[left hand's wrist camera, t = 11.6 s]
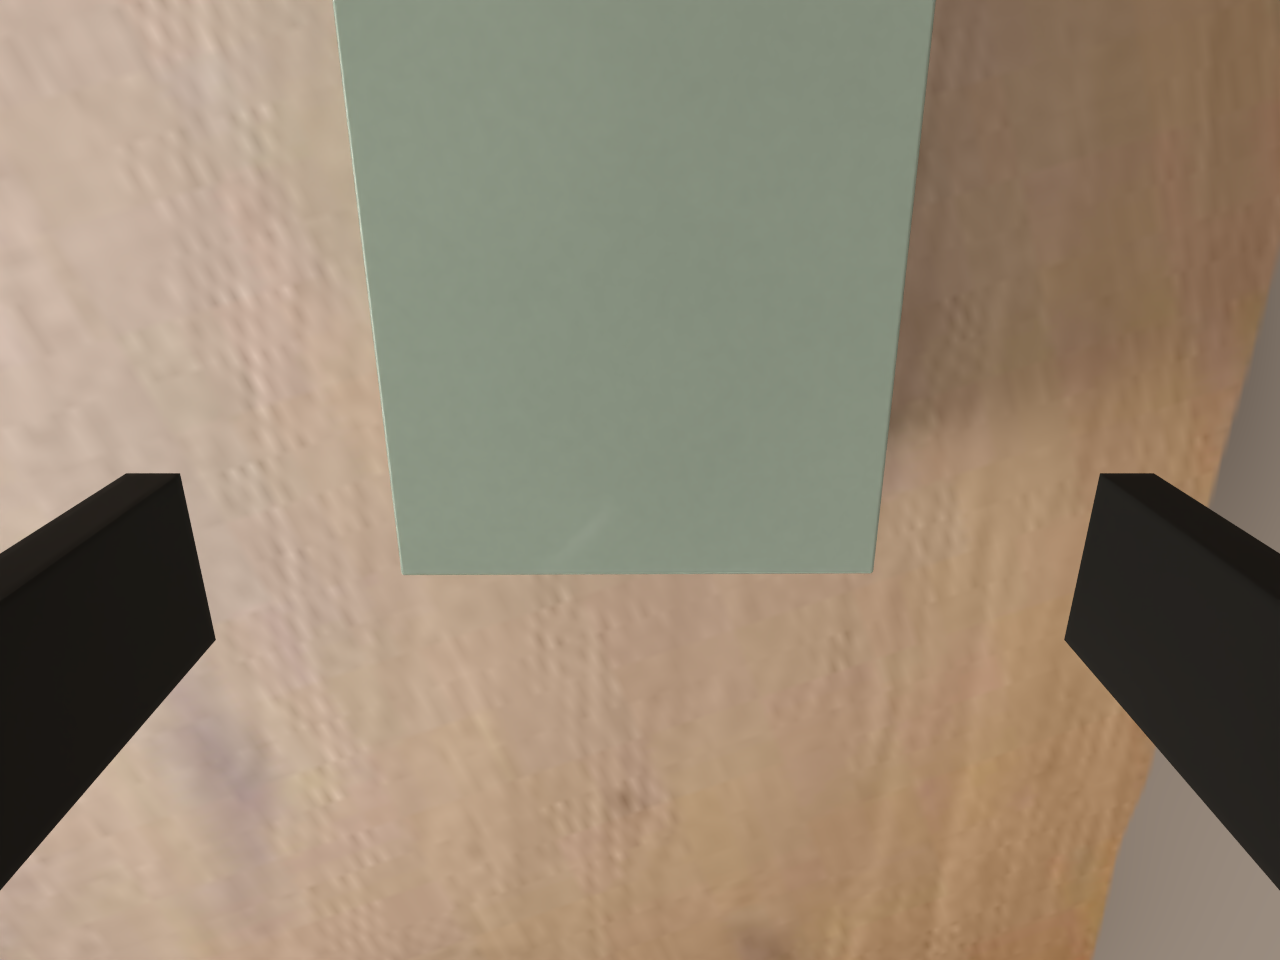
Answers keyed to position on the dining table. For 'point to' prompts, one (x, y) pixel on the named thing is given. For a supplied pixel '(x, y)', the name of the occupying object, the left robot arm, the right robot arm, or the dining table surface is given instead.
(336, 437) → the dining table surface
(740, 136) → the cabinet
